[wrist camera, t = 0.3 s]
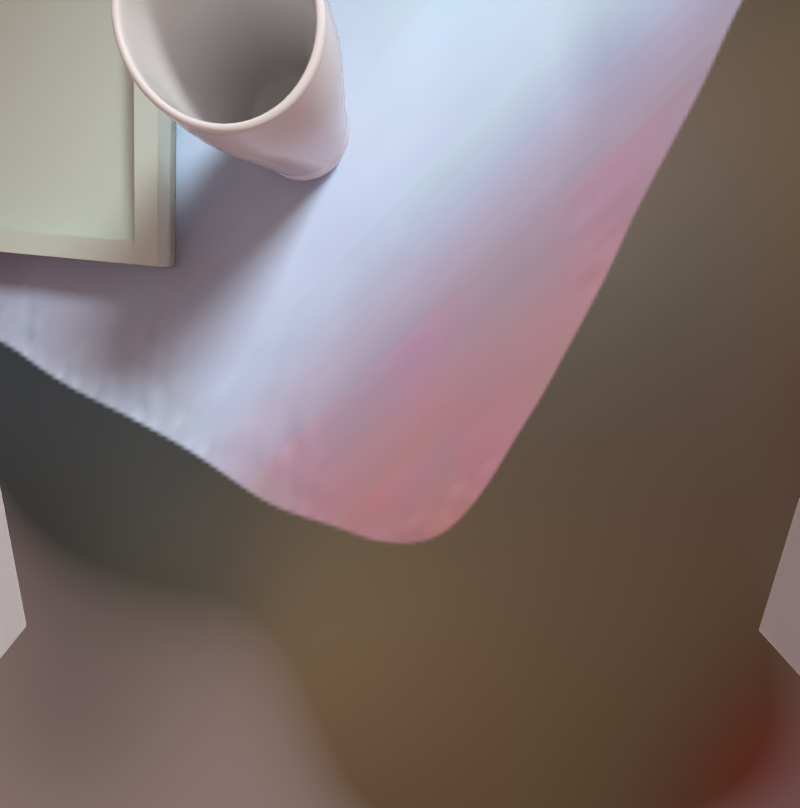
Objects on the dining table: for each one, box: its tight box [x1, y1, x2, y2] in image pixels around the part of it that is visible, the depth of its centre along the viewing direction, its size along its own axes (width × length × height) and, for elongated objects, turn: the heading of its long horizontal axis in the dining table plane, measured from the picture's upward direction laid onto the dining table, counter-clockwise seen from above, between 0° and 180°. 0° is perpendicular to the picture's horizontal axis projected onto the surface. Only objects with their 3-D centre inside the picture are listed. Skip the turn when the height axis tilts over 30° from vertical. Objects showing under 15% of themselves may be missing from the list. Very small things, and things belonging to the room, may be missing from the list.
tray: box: [0, 0, 176, 267], centre depth 31 cm, size 16×16×2 cm
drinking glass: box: [111, 0, 350, 181], centre depth 25 cm, size 7×7×15 cm
